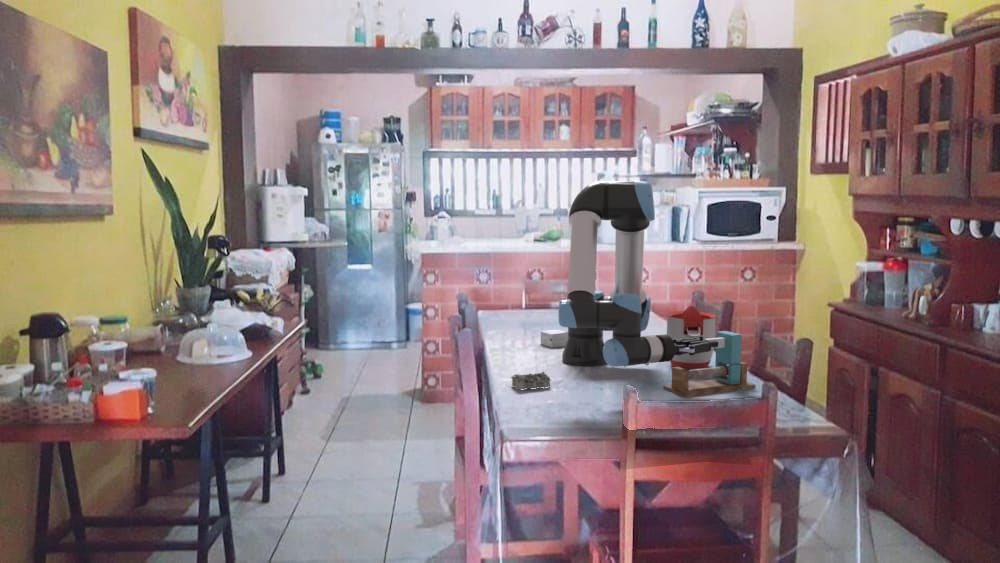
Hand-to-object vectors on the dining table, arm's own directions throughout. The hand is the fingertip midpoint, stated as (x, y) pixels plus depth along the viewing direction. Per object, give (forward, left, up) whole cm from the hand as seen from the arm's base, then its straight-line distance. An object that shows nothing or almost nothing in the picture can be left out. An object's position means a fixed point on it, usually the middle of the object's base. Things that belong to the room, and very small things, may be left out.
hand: (723, 342), depth 217 cm
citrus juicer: (+4, +25, -13) cm, 29 cm away
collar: (+2, 0, -12) cm, 12 cm away
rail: (-4, -1, -13) cm, 14 cm away
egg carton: (-54, +13, -13) cm, 57 cm away
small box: (-27, +71, -13) cm, 77 cm away
